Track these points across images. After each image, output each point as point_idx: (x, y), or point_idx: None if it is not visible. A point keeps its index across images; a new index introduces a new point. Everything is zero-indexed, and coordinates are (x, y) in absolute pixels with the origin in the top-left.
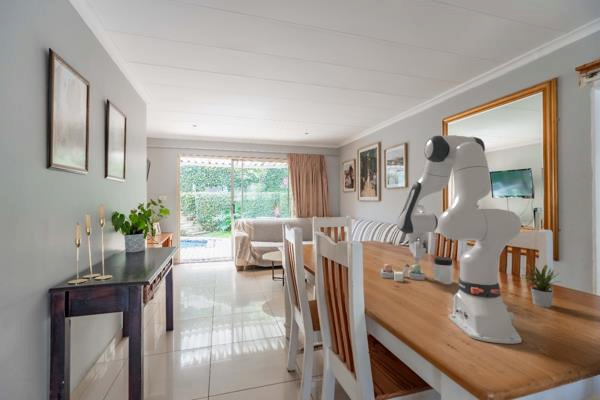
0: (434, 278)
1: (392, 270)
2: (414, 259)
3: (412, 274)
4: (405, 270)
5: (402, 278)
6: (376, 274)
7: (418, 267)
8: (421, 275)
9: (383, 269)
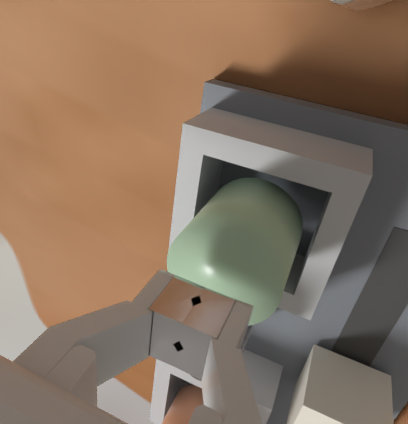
0: (377, 4)
1: (172, 370)
2: (162, 358)
3: (319, 297)
4: (244, 345)
5: (388, 404)
6: (134, 370)
7: (283, 271)
8: (356, 210)
9: (158, 413)
